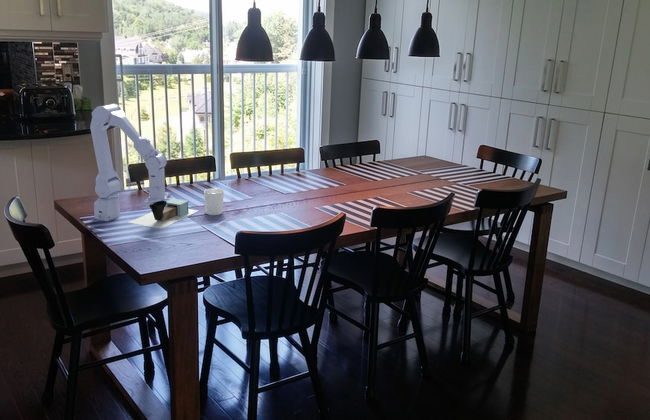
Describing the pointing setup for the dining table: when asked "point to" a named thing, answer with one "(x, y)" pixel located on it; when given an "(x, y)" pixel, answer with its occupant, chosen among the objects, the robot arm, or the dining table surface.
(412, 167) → the dining table surface
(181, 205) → the teal block
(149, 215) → the board
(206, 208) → the white cup
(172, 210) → the slat
